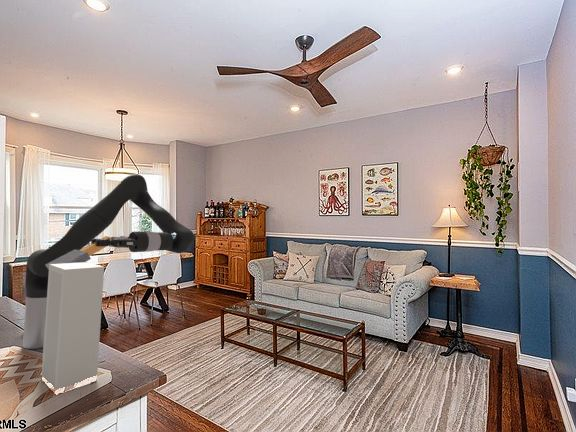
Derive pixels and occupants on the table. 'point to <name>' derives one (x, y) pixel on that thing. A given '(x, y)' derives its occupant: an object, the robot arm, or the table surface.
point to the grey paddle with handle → (79, 254)
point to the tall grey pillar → (72, 323)
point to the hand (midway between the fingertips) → (94, 242)
